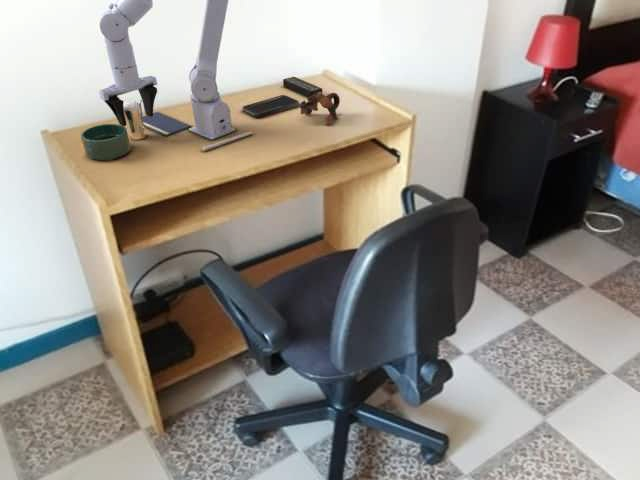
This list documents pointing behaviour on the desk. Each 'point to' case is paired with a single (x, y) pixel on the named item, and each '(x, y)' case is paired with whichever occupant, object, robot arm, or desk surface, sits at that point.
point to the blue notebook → (163, 124)
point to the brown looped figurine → (325, 102)
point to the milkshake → (134, 119)
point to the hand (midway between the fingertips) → (136, 120)
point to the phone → (270, 106)
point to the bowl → (106, 141)
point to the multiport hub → (301, 86)
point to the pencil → (226, 141)
